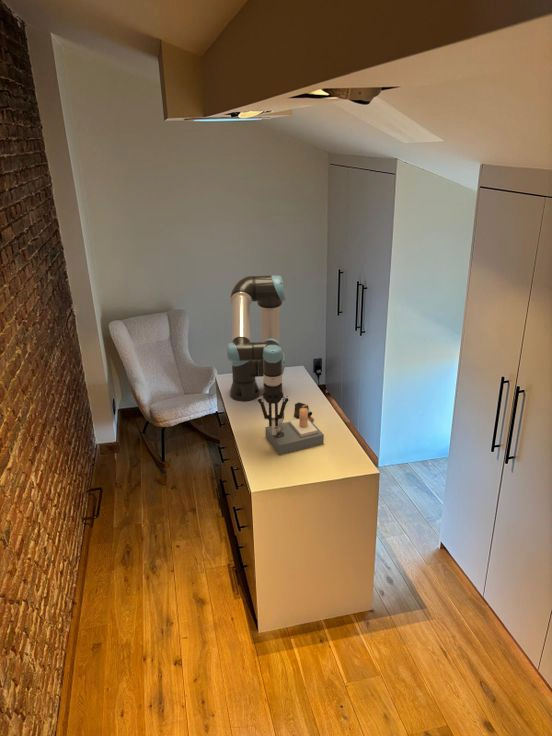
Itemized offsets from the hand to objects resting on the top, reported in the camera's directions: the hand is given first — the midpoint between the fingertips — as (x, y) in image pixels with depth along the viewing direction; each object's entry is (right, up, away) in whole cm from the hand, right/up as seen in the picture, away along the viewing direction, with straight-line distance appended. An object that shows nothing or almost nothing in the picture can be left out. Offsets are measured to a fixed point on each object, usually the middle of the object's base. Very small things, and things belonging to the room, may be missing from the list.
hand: (273, 432), depth 231 cm
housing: (+9, -5, +11) cm, 15 cm away
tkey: (+2, -2, +6) cm, 7 cm away
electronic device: (+14, +3, +28) cm, 31 cm away
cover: (+13, 0, +10) cm, 17 cm away
